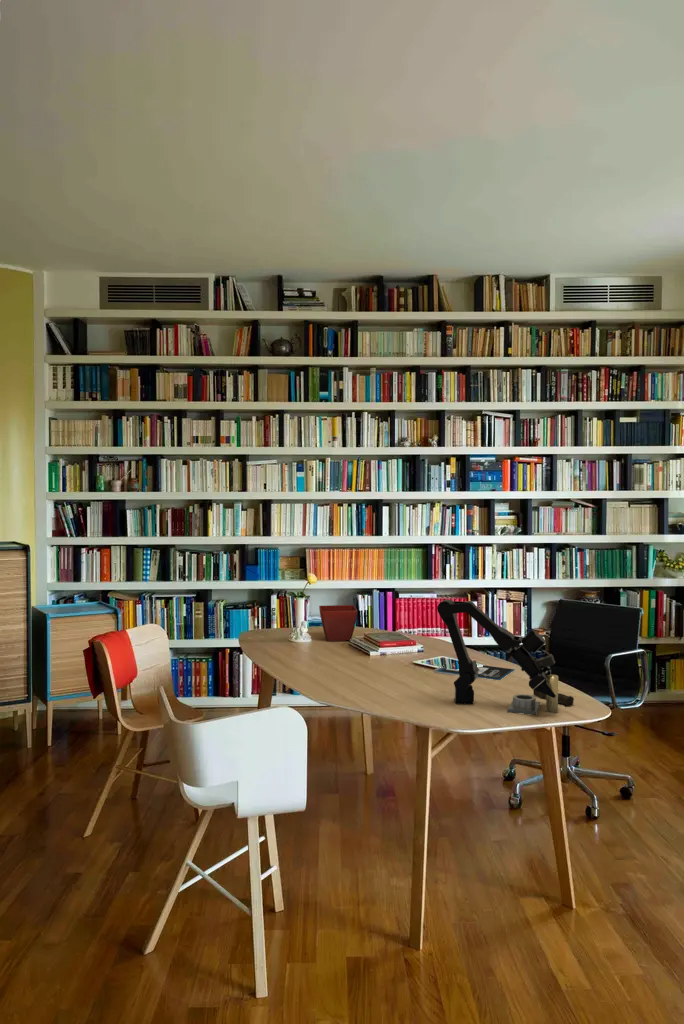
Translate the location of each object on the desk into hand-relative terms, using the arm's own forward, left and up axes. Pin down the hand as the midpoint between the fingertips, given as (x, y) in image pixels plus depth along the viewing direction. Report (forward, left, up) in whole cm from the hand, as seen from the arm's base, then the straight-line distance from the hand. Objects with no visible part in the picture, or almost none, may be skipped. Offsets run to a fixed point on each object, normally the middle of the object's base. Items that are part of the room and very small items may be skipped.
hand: (556, 693), depth 278 cm
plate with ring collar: (-11, +4, -7) cm, 13 cm away
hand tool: (+2, +15, -7) cm, 17 cm away
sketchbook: (-20, +61, -7) cm, 65 cm away
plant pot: (-82, +133, -7) cm, 156 cm away
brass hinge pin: (-1, 0, -7) cm, 7 cm away
